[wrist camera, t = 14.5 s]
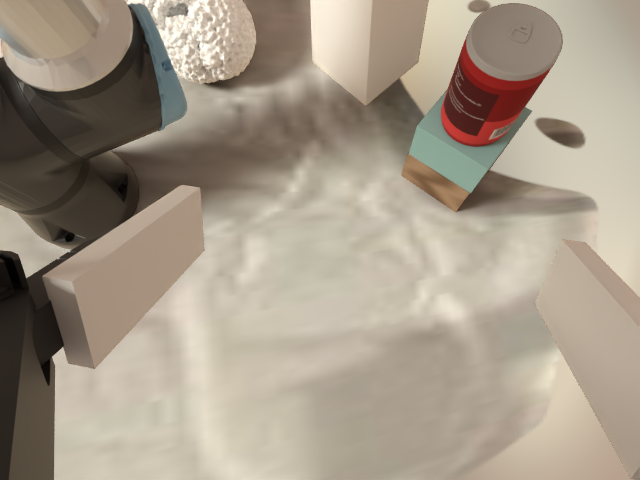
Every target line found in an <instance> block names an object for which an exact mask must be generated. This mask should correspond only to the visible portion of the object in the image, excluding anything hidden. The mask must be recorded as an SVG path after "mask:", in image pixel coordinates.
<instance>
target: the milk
mask: <svg viewBox="0 0 640 480" xmlns="http://www.w3.org/2000/svg"><path fill="white" fill-rule="evenodd" d="M310 5H311V33H312V61H313V63H315V64H316V65H317V66H318V67H319V68H321V69H322V70H323V71H324V72H325V73H327V74H328V75H329V76H330V77H331V78H333V79H334V80H335V81H336V82H337V83H339V84H340V85H341V86H342V87H343V88H345V89H346V90H347V91H348V92H349V93H351V94H352V95H353V96H354V97H355V98H357V99H358V100H359V101H360V102H361V103H363V104H364V105H365V106H366V105H368V104H369V103H370V102H371V101H372V100H373V99H375V98H376V97H377V96H378V95H379V94H381V93H382V92H383V91H384V90H385V89H387V88H388V87H389V86H390V85H391V84H393V83H394V82H395V81H396V80H397V79H399V78H400V77H401V76H402V75H403V74H405V73H406V72H407V71H408V70H409V69H411V67H413V66H414V65H415V64H416V63H417V62H418V59H419V54H420V48H421V42H422V36H423V30H424V24H425V18H426V12H427V6H428V0H310Z"/></svg>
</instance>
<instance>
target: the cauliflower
mask: <svg viewBox="0 0 640 480" xmlns="http://www.w3.org/2000/svg"><path fill="white" fill-rule="evenodd" d="M127 3H128V4H130V3H133V4H138V3H141V4H144V5H145V6H146V7H147V8H148V10H149V12H150V14H151V16H152V18H153V20H154V22H155V24H156V27H157V29H158V31H159V33H160V36H161V38H162V40H163V43H164V45H165V48H166V50H167V53H168V55H169V58H170V60H171V64H172V65H173V67H174V70H175V72H178V73H179V75H180V77H183V78H184V79H186V80H188V81H191V82H194V83H200V84H203V83H205V82H206V83H210V82H216V81H218V80H225V79H230V78H232V77H233V76H239V74H240V72H244V69H245V68H246V67H247V65H249V63H250V59H252V56H253V53H254V51H255V44H256V43H257V42H256V31H255V27H254V26H255V25H254V23H253V19H252V17H251V16H252V15H251V14H250V11H249V10H247V7H246V5H245V3H244V2H243V0H128V2H127Z"/></svg>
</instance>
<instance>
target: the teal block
mask: <svg viewBox="0 0 640 480" xmlns="http://www.w3.org/2000/svg"><path fill="white" fill-rule="evenodd" d="M447 90H448V89H447ZM446 93H447V91H446V92H445V93H444V94H443V95H442V96H441V98H440V99H439V100H438V101H437V102H436V104H435V105H434V106H433V107H432V109H431V110H430V111H429V112H428V113H427V114H426V116H425V117H424V118H423V119H422V120H421V122H420V123H419V124H418V125H417V128H416V131H415V134H414V138H413V141H412V144H411V148H410V151H409V154H410V155H411V156H413V157H414V158H416V159H418V160H419V161H421V162H422V163H424V164H425V165H427V166H429V167H430V168H432V169H433V170H435V171H436V172H438V173H440V174H441V175H443V176H444V177H446V178H447V179H449V180H451V181H452V182H454V183H455V184H457V185H458V186H460V187H462V188H463V189H465V190H466V191H468V192H469V193H471V192H472V191H473V190H474V188H475V187H476V186H477V184H478V183H479V182H480V180H481V179H482V178H483V176H484V175H485V174H486V172H487V171H488V170H489V168H490V167H491V166H492V164H493V163H494V162H495V160H496V159H497V158H498V157H499V155H500V154H501V153H502V151H503V150H504V149H505V147H506V146H507V145H508V143H509V142H510V140H511V139H512V138H513V137H514V135H515V134H516V132H517V131H518V130H519V128H520V127H521V126H522V124H523V123H524V121H525V120H526V119H527V117H528V116H529V115H530V113H531V112H532V111H531V110H529V109H527V108H526V107H524V109H523V110H522V112H521V113H520V115H519V116H518V118H517V119H516V120H515V122H514V123H513V125H512V126H511V128H510V129H509V130H508V132H507V133H506V134H505V135H504V136H503V137H501V138H500V139H498V140H497V141H495V142H493V143H491V144H489V145H485V146H479V147H473V146H467V145H463V144H461V143H458V142H456V141H455V140H453V139H452V138H451V137H450V136H449V135H448V134H447V133H446V131H445V130H444V127H443V125H442V120H441V107H442V104H443V101H444V98H445V95H446Z"/></svg>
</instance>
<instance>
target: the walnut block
mask: <svg viewBox="0 0 640 480" xmlns="http://www.w3.org/2000/svg"><path fill="white" fill-rule="evenodd" d="M508 144H509V143H508ZM505 148H506V147H505ZM503 151H504V150H503ZM503 151H502V152H503ZM500 155H501V154H500ZM500 155H499V156H500ZM497 159H498V158H497ZM497 159H496V160H497ZM496 160H495V161H496ZM494 163H495V162H494ZM494 163H493V164H494ZM493 164H492V165H493ZM491 167H492V166H491ZM491 167H490V168H491ZM490 168H489V169H490ZM488 171H489V170H488ZM488 171H487V172H488ZM487 172H486V173H487ZM402 176H403V177H405V178H406V179H407V180H409V181H410V182H412V183H413V184H415V185H416V186H418V187H419V188H421V189H422V190H424V191H425V192H427V193H428V194H430V195H431V196H432V197H434V198H435V199H437V200H438V201H440V202H441V203H443V204H444V205H446V206H447V207H449V208H450V209H452V210H453V211H454V212H456V211H457V210H458V209H459V207H460V206H461V205H462V203H463V202H464V201H465V200H466V198H467V197H468V196H469V195H470V193H469V192H468V191H466V190H465V189H463V188H462V187H460V186H458V185H457V184H455V183H454V182H452V181H451V180H449V179H447V178H446V177H444V176H443V175H441V174H440V173H438V172H436V171H435V170H433V169H432V168H430V167H429V166H427V165H425V164H424V163H422V162H421V161H419V160H418V159H416V158H414V157H413V156H411V155H410V154H409V152H408V154H407V158H406V161H405V164H404V168H403V171H402ZM484 176H485V175H484ZM484 176H483V177H484ZM480 181H481V180H480Z"/></svg>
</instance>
